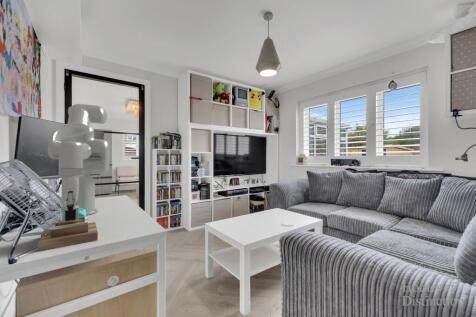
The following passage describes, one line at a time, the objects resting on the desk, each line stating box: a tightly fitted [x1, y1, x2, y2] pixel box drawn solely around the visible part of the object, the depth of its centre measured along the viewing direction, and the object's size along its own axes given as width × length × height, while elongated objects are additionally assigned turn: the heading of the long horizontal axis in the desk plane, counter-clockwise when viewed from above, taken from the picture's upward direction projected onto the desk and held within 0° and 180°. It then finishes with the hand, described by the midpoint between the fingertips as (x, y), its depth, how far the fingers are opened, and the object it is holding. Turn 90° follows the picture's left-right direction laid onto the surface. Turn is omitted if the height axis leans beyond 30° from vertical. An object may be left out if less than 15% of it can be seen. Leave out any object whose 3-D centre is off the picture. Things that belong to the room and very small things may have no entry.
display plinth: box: [37, 215, 99, 252], centre depth 84 cm, size 16×17×7 cm
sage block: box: [61, 205, 79, 223], centre depth 84 cm, size 5×5×5 cm
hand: (70, 218), depth 84 cm, fingers closed on sage block, 4 cm apart
